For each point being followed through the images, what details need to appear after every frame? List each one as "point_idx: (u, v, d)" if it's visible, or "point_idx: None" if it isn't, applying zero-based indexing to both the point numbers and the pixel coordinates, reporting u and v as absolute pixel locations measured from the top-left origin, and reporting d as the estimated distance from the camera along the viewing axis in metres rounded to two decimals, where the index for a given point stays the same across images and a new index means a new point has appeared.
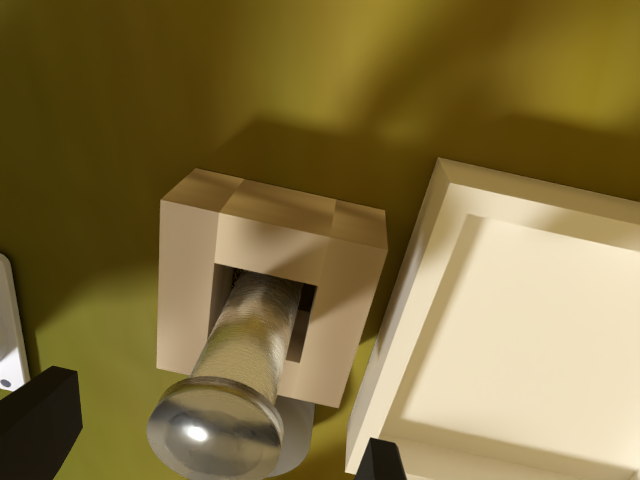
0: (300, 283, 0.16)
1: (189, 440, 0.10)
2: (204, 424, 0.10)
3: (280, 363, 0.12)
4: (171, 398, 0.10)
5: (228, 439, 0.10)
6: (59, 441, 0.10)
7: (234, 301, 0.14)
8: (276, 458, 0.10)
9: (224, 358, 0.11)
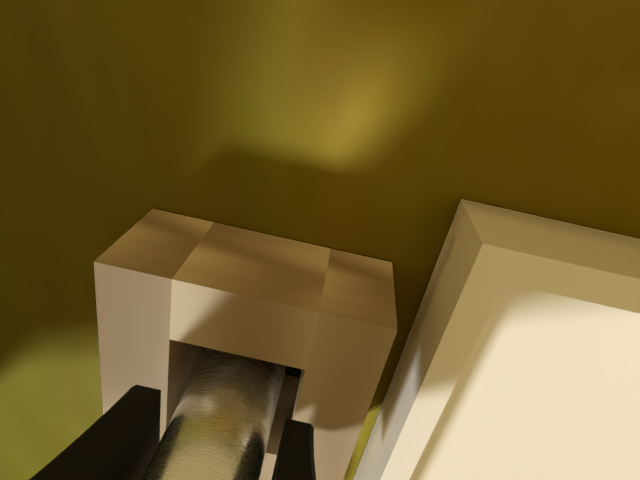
0: None
1: None
2: None
3: None
4: None
5: None
6: (144, 460, 0.10)
7: (194, 393, 0.10)
8: None
9: None
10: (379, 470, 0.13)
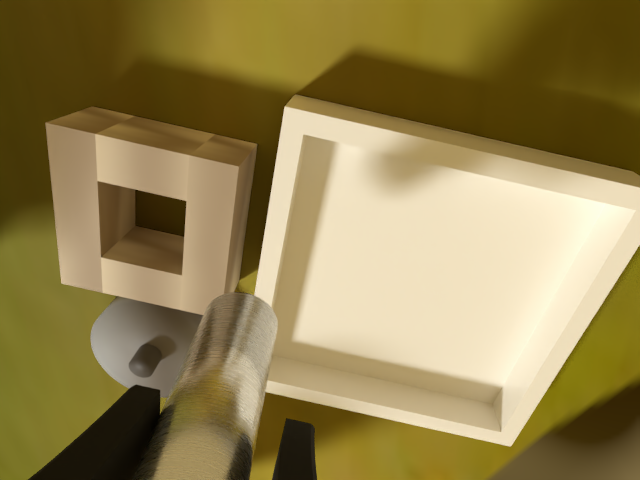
0: (270, 345, 0.13)
1: None
2: None
3: (244, 479, 0.09)
4: None
5: None
6: None
7: (182, 388, 0.10)
8: None
9: None
10: None
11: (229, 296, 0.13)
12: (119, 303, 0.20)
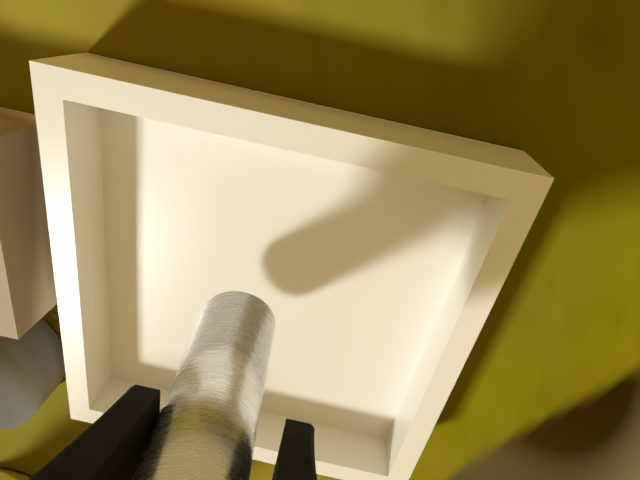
0: (268, 343, 0.13)
1: None
2: None
3: (244, 477, 0.09)
4: None
5: None
6: None
7: (181, 387, 0.10)
8: None
9: None
10: None
11: (226, 295, 0.13)
12: None
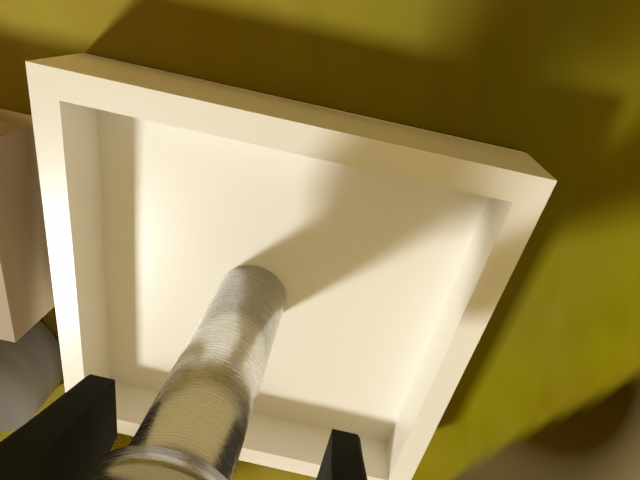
0: (277, 312, 0.14)
1: None
2: None
3: (245, 416, 0.11)
4: (99, 475, 0.08)
5: None
6: (97, 450, 0.10)
7: (196, 339, 0.12)
8: None
9: (174, 416, 0.09)
10: None
11: (242, 268, 0.15)
12: None
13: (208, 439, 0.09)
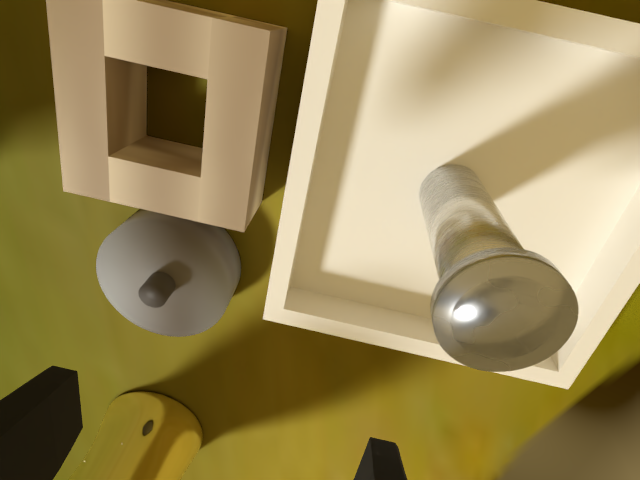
0: None
1: (480, 315, 0.10)
2: (504, 295, 0.10)
3: None
4: (477, 265, 0.10)
5: (524, 312, 0.10)
6: (59, 441, 0.10)
7: (455, 205, 0.13)
8: (569, 334, 0.10)
9: (492, 241, 0.11)
10: None
11: (449, 166, 0.16)
12: (129, 222, 0.18)
13: None
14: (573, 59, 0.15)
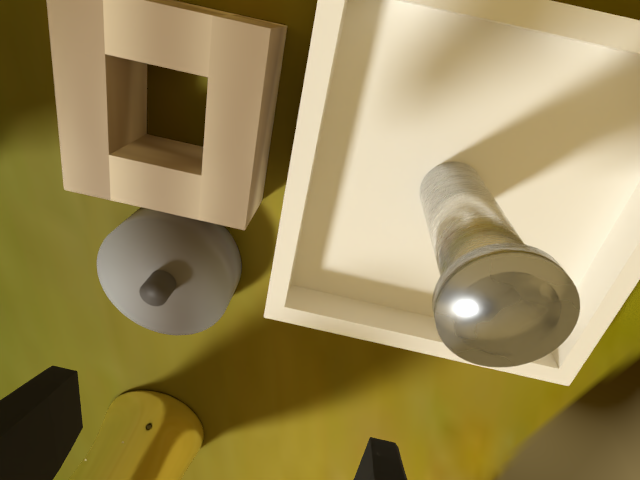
0: None
1: (482, 310, 0.10)
2: (506, 290, 0.10)
3: None
4: (478, 261, 0.10)
5: (526, 308, 0.10)
6: (59, 441, 0.10)
7: (456, 202, 0.13)
8: (571, 329, 0.10)
9: (493, 238, 0.11)
10: None
11: (449, 163, 0.16)
12: (129, 221, 0.18)
13: None
14: (573, 56, 0.15)
